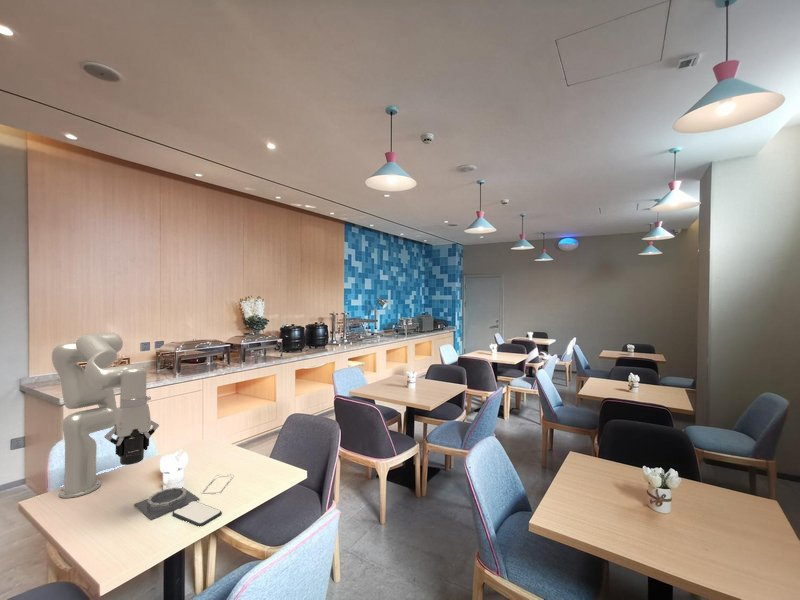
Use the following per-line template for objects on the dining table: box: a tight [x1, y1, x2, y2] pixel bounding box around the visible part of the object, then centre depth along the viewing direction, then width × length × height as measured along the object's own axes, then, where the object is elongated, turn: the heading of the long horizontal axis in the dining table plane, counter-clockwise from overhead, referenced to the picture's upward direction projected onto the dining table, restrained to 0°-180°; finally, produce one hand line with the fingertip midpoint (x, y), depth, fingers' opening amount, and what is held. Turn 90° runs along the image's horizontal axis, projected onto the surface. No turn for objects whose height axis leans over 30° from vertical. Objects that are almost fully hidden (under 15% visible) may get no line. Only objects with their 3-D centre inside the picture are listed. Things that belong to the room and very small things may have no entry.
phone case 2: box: [200, 473, 234, 495], centre depth 146 cm, size 7×1×15 cm
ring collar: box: [134, 486, 200, 521], centre depth 133 cm, size 16×16×3 cm
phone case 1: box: [171, 501, 223, 527], centre depth 125 cm, size 9×2×16 cm
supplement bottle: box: [119, 429, 145, 466], centre depth 126 cm, size 7×7×12 cm
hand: (132, 451), depth 126 cm, fingers closed on supplement bottle, 6 cm apart
